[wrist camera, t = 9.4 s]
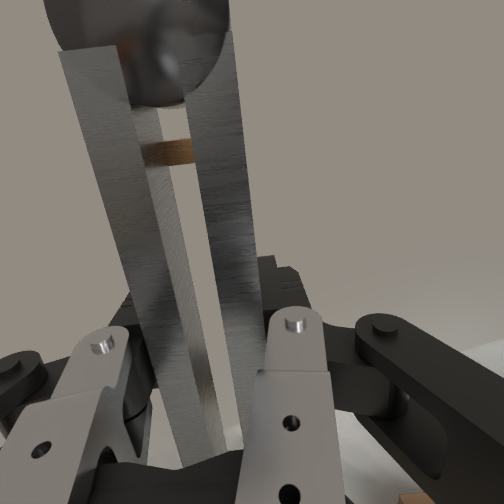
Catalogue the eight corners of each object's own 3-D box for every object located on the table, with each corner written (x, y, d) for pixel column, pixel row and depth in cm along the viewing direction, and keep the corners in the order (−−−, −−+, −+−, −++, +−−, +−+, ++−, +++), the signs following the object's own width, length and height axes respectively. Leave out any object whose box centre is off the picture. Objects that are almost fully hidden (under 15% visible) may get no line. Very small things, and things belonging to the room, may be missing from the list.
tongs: (292, 582, 13) (213, -133, 5) (219, 590, 13) (9, -109, 5) (284, 509, 15) (222, -47, 7) (223, 516, 15) (88, -30, 7)
